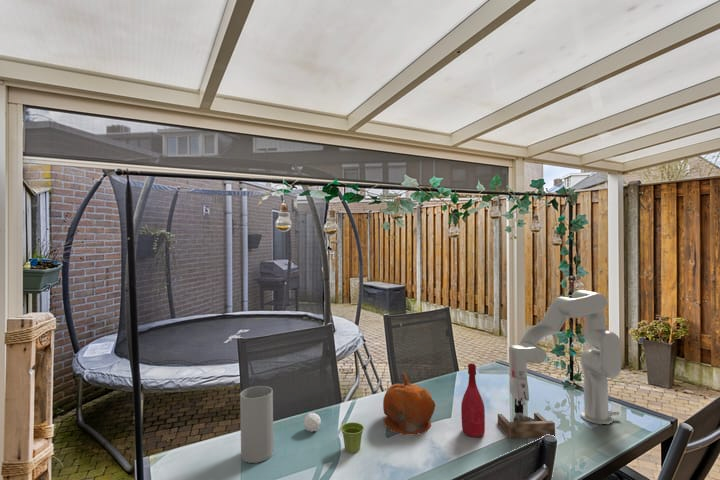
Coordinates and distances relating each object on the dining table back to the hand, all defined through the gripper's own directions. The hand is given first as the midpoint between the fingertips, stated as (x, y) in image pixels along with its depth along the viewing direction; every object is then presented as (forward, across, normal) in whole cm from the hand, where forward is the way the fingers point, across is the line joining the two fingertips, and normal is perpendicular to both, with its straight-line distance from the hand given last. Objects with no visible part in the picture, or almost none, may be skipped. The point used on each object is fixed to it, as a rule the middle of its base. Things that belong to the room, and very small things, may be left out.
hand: (518, 413), depth 169 cm
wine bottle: (+5, -7, +24) cm, 25 cm away
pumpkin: (+5, +4, +50) cm, 51 cm away
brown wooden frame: (+5, -6, 0) cm, 7 cm away
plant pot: (+5, -16, +76) cm, 78 cm away
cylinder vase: (+5, -18, +114) cm, 116 cm away
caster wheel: (+5, -4, -1) cm, 6 cm away
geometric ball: (+5, 0, +94) cm, 95 cm away
